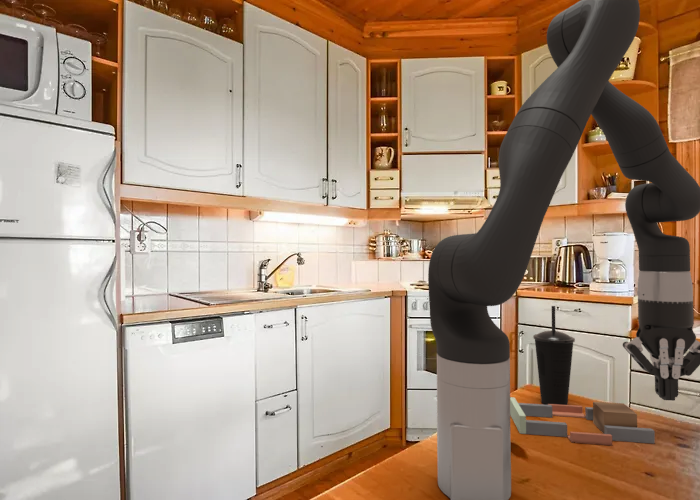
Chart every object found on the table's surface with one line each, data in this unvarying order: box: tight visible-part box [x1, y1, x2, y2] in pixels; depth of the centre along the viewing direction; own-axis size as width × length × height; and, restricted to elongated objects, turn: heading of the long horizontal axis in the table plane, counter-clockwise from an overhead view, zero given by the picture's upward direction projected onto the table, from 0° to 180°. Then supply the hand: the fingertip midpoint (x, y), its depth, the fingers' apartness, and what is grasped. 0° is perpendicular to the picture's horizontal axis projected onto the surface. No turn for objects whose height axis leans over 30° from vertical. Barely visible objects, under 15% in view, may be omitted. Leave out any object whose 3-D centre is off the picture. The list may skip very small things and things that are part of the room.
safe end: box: [510, 396, 527, 435], centre depth 74 cm, size 9×1×3 cm, turn 169°
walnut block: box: [592, 401, 638, 434], centre depth 71 cm, size 5×5×4 cm
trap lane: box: [518, 402, 656, 446], centre depth 72 cm, size 13×20×2 cm
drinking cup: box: [532, 305, 576, 405], centre depth 84 cm, size 8×8×20 cm
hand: (666, 398), depth 70 cm, fingers closed
